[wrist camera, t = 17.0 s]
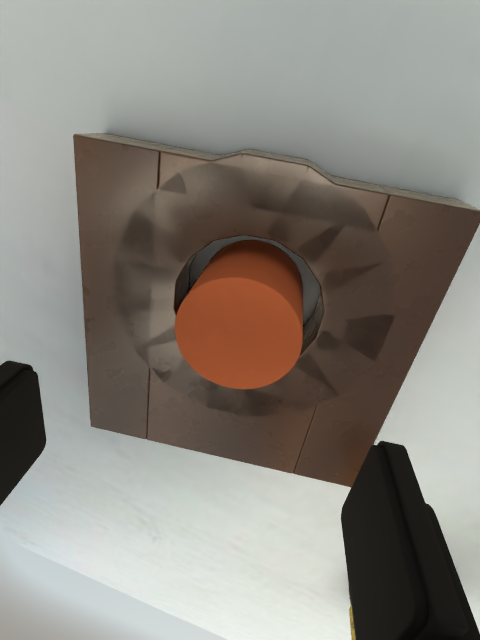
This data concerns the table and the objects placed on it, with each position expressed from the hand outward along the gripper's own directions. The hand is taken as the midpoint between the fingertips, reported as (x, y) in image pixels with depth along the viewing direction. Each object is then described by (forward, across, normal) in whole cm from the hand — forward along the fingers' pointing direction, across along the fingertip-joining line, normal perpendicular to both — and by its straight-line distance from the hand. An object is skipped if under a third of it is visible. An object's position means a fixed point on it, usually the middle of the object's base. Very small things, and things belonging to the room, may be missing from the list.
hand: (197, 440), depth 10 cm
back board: (+10, 0, +2) cm, 10 cm away
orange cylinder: (+10, 0, 0) cm, 10 cm away
